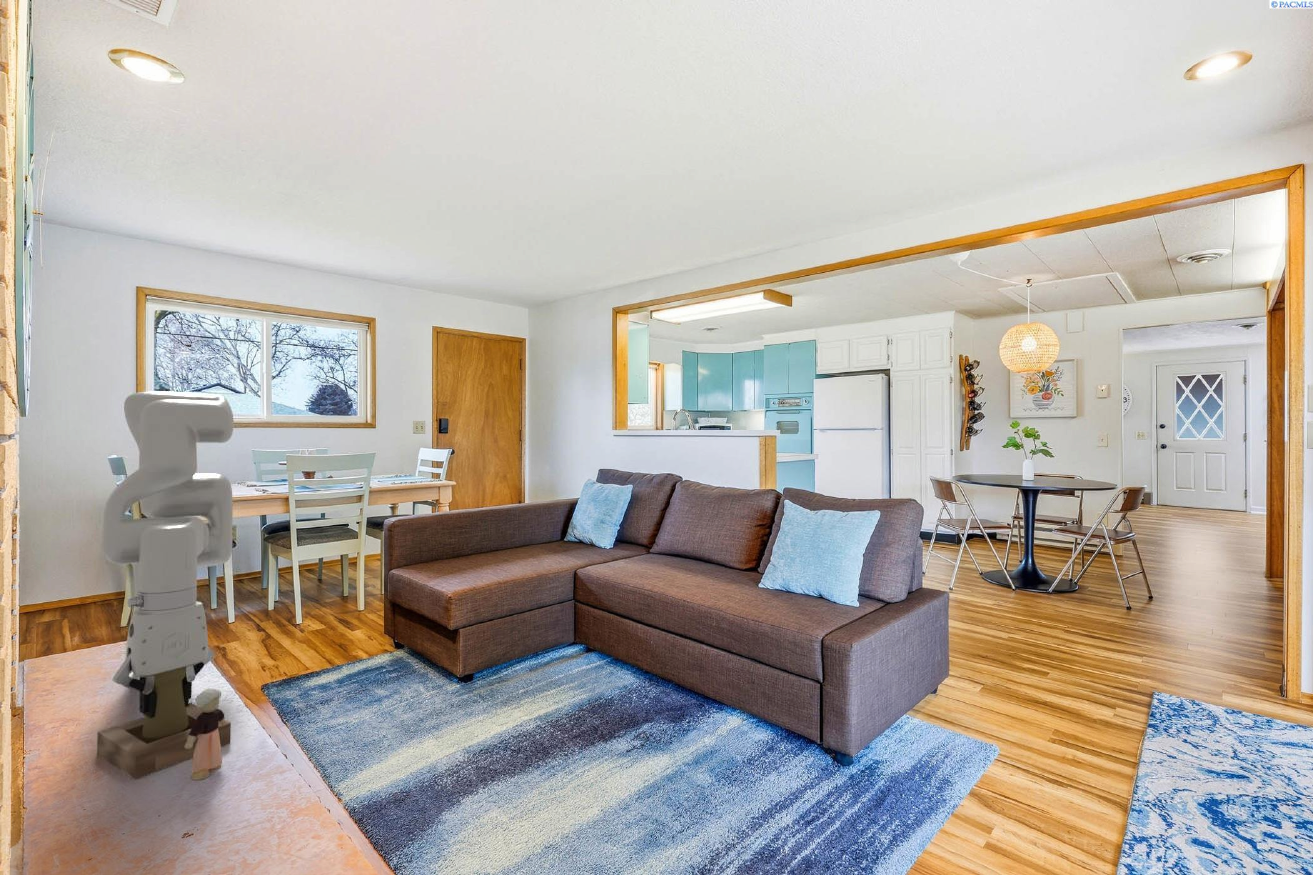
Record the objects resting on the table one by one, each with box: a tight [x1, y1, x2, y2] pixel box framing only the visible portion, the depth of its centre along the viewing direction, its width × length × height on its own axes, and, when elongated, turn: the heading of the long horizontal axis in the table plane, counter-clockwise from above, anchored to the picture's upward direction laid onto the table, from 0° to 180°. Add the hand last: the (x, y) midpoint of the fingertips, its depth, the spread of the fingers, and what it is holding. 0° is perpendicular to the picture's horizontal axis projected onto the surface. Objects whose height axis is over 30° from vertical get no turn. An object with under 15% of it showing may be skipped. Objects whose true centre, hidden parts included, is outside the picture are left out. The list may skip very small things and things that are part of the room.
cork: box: [142, 667, 188, 738], centre depth 102 cm, size 6×6×11 cm
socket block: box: [96, 702, 232, 780], centre depth 102 cm, size 14×13×4 cm
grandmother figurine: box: [185, 688, 228, 781], centre depth 96 cm, size 8×4×13 cm, turn 9°
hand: (165, 709), depth 102 cm, fingers closed on cork, 3 cm apart
